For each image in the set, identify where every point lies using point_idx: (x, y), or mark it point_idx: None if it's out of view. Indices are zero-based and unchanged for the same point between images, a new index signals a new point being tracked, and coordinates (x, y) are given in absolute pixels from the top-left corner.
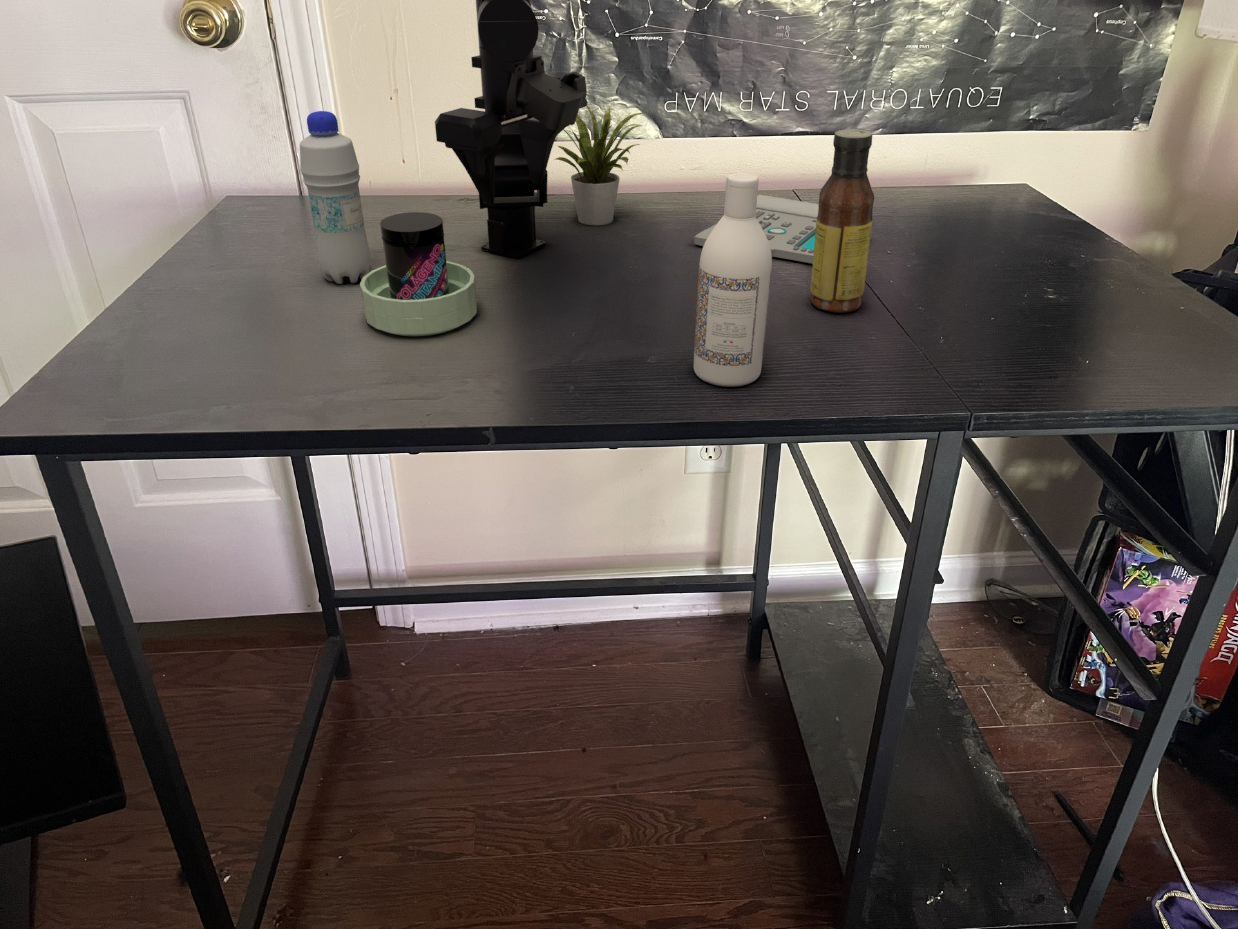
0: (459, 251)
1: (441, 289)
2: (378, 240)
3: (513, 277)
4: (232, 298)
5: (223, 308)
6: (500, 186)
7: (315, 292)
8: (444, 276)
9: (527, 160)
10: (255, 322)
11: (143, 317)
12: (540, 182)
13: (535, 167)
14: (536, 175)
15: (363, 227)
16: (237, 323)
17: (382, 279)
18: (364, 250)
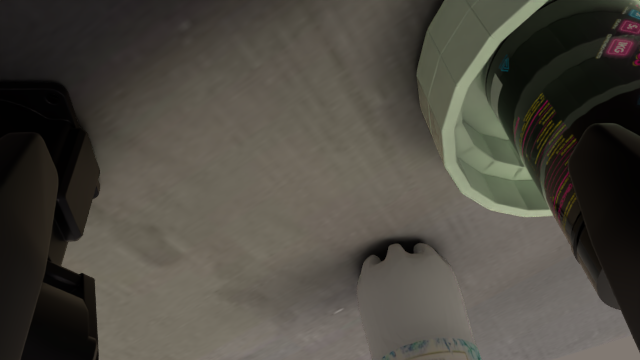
0: (145, 216)
1: (636, 21)
2: (214, 326)
3: (189, 7)
4: (533, 304)
5: (572, 292)
6: (41, 308)
7: (479, 257)
8: (631, 44)
9: (20, 352)
10: None
11: (614, 322)
12: (28, 140)
13: (7, 263)
14: (28, 204)
15: (408, 339)
16: None
17: (533, 189)
18: (413, 291)
